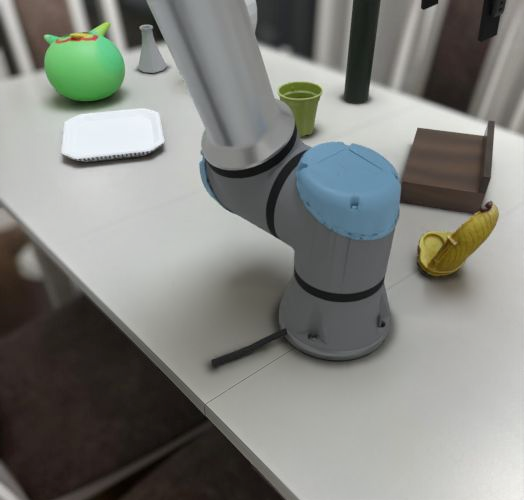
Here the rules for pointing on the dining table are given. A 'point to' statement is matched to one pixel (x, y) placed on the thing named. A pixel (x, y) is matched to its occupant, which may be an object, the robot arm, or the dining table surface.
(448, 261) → the yellow curved piece
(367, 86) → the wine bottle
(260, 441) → the dining table surface
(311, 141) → the dining table surface
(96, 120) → the plate
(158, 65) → the flask
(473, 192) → the brown boxy piece
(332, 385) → the dining table surface
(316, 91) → the plant pot
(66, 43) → the toy bird
